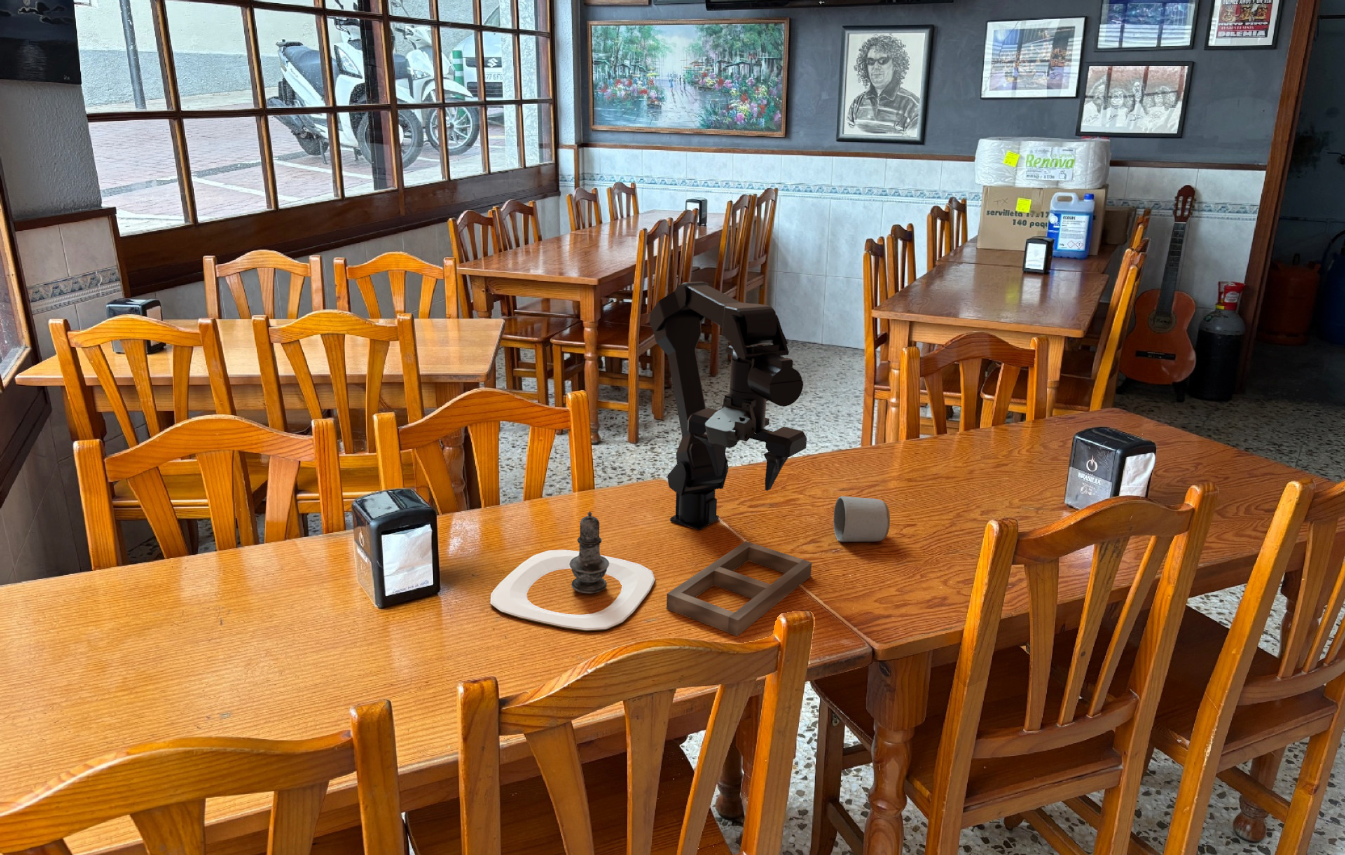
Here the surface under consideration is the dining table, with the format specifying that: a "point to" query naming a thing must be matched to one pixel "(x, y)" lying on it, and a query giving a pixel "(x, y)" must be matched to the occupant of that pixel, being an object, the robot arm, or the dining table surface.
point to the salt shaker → (589, 558)
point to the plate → (515, 603)
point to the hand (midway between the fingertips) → (742, 482)
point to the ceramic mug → (861, 519)
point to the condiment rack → (739, 587)
